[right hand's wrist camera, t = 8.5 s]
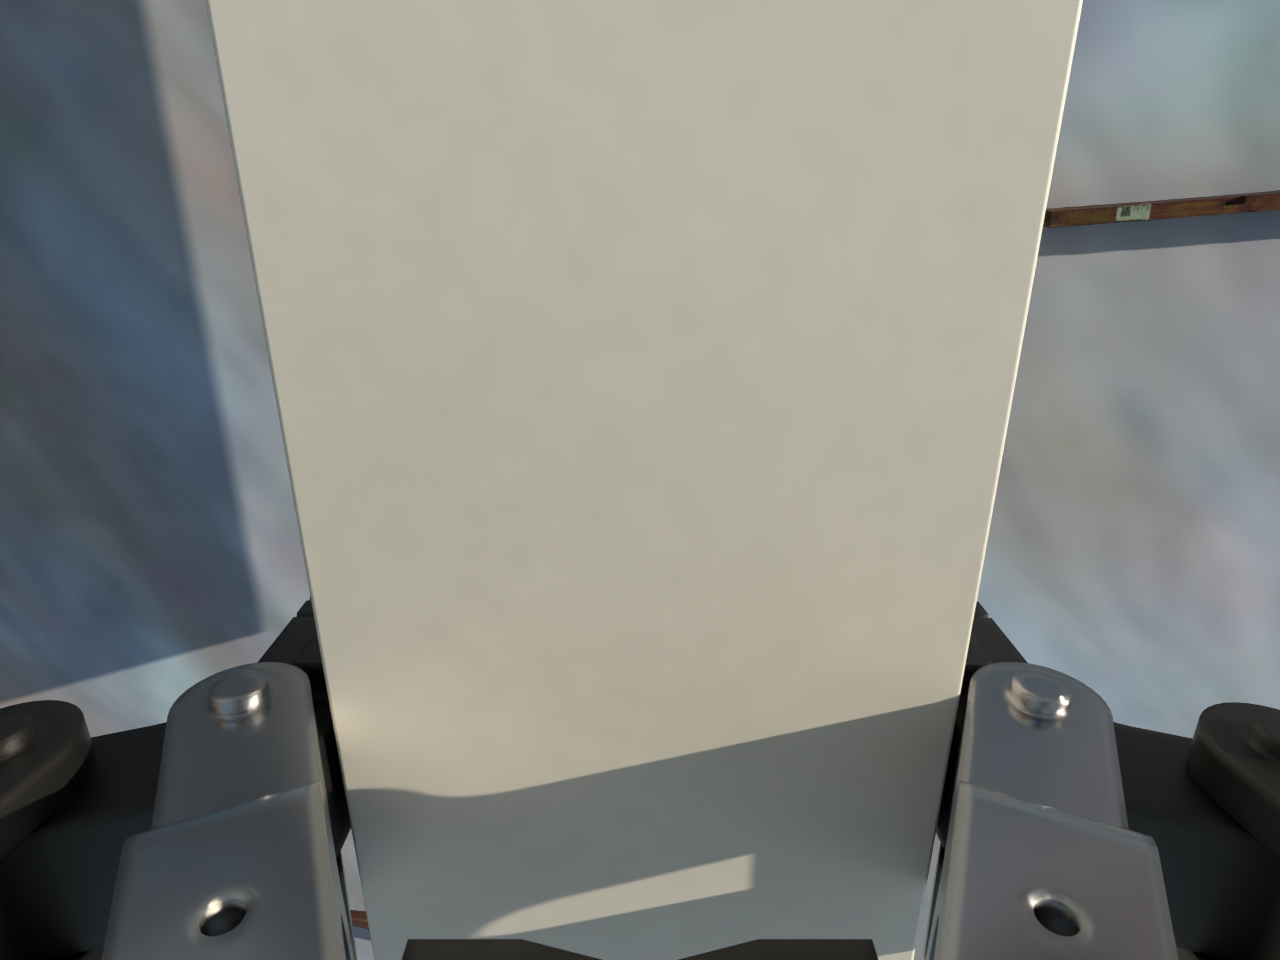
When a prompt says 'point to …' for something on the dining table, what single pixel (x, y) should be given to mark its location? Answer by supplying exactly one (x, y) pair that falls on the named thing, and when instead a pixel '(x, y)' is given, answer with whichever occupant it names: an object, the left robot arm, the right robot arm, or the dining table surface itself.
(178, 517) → the dining table surface
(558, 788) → the box
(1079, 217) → the brown thin rod
